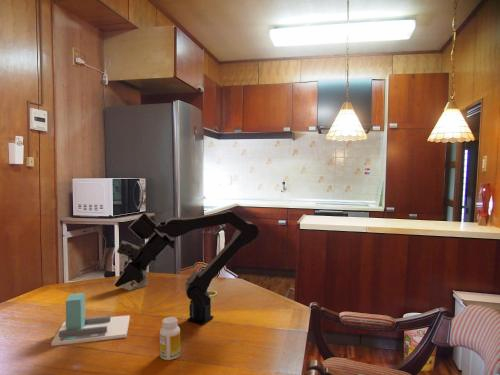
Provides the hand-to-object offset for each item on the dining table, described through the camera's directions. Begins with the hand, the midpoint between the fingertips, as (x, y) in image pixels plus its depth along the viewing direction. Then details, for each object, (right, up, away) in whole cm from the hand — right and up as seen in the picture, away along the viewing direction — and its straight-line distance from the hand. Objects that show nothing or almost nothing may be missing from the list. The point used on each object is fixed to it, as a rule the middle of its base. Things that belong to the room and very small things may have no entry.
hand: (115, 285), depth 108 cm
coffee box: (-7, -12, +40) cm, 43 cm away
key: (+25, -13, +34) cm, 43 cm away
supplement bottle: (+21, -15, -15) cm, 29 cm away
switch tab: (-11, -12, -3) cm, 17 cm away
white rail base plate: (-6, -14, -1) cm, 15 cm away
